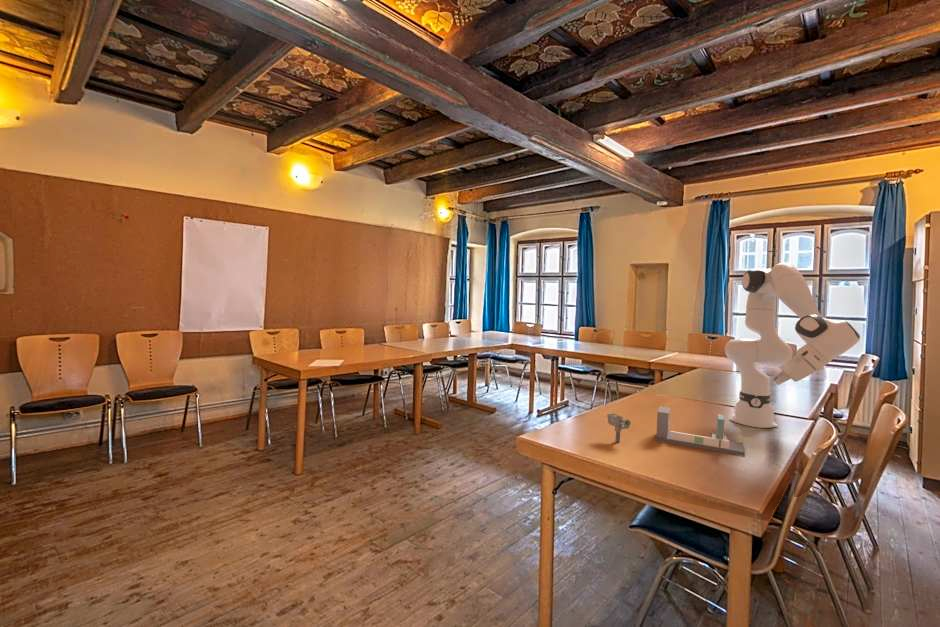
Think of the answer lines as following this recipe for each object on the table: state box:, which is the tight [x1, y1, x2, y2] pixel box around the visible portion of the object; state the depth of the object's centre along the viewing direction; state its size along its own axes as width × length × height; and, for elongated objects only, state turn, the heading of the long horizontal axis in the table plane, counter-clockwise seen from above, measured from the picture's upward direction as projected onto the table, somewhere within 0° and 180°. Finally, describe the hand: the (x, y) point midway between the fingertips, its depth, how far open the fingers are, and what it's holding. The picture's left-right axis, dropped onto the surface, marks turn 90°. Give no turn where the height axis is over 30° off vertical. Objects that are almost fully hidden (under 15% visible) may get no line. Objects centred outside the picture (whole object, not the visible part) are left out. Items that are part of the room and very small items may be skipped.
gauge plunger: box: [711, 413, 728, 440], centre depth 167 cm, size 10×5×10 cm, turn 152°
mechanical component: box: [606, 413, 631, 444], centre depth 170 cm, size 3×10×10 cm, turn 27°
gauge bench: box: [655, 406, 746, 457], centre depth 171 cm, size 12×30×12 cm, turn 62°
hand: (775, 382), depth 159 cm, fingers open, 3 cm apart
